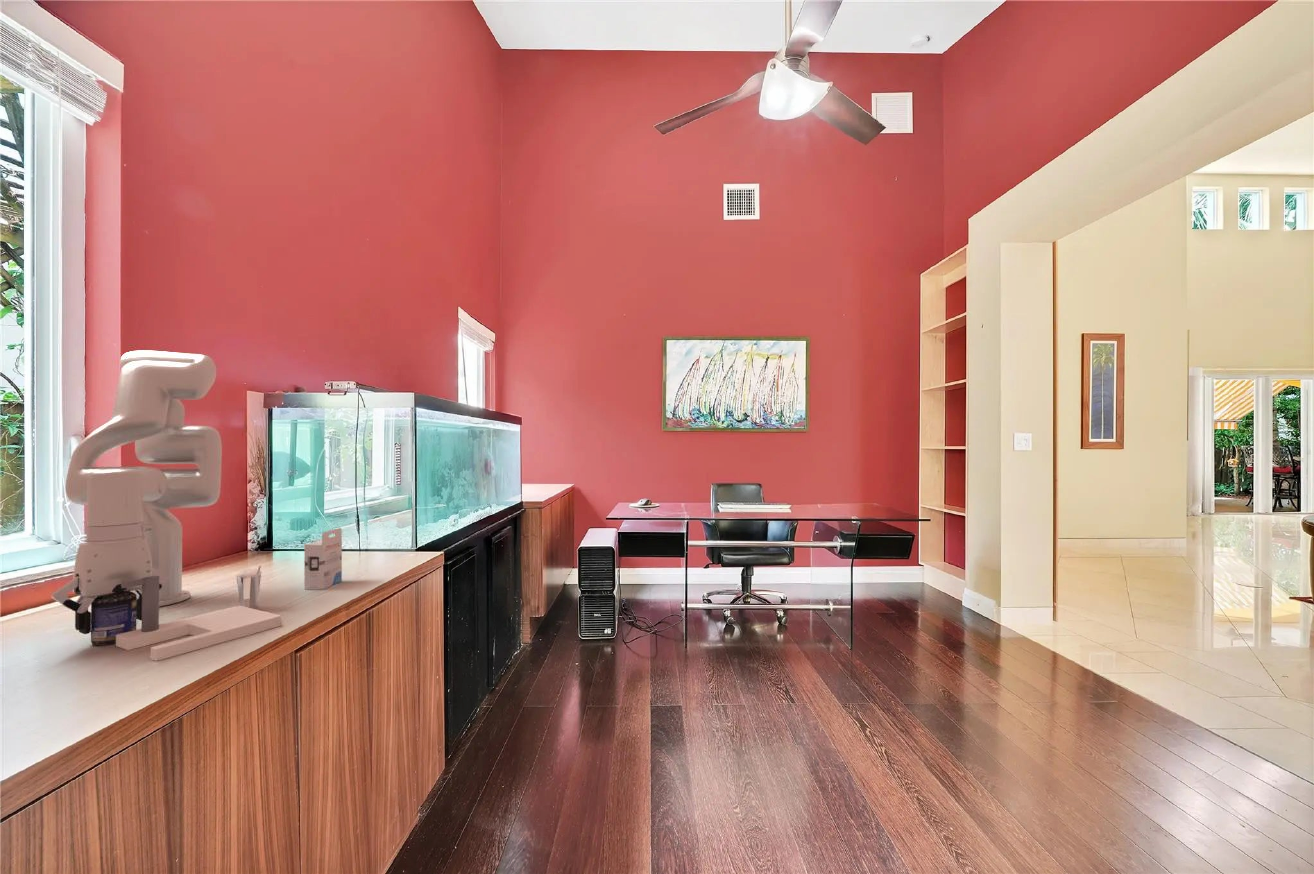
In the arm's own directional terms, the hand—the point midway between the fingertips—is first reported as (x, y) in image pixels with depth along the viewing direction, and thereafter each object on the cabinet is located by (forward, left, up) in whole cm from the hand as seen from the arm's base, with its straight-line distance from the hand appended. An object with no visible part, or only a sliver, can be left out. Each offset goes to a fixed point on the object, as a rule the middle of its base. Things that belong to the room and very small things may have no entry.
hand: (114, 625), depth 101 cm
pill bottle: (0, 0, -3) cm, 3 cm away
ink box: (-4, +42, -3) cm, 42 cm away
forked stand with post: (+12, +9, -3) cm, 15 cm away
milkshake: (+2, +22, -3) cm, 22 cm away
